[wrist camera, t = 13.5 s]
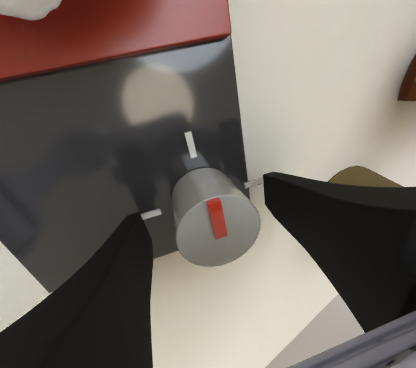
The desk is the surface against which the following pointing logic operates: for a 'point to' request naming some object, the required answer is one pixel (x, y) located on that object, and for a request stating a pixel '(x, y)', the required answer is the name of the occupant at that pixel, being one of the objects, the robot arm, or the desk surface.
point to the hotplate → (105, 32)
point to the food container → (409, 84)
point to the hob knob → (212, 218)
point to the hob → (112, 150)
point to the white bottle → (28, 8)
